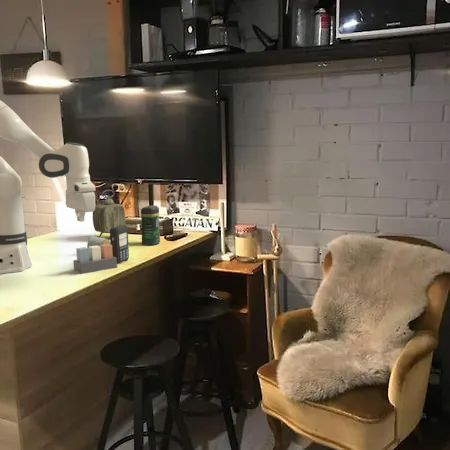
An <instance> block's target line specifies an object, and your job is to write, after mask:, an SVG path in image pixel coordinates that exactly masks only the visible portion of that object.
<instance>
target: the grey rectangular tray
mask: <svg viewBox="0 0 450 450" xmlns="http://www.w3.org/2000/svg"><path fill="white" fill-rule="evenodd" d="M115 268H116V269H117V268H118V264H117V258H116V257H112V258H106V259H104V258H101V259H100V260H94V261H92V260H89V261H88V262H82V263H80V262H77V259H73V270H74V271H75V272H76V273H79V274H82V275H83V274H88V273H94V272H99V271H106V270H111V269H115Z"/></svg>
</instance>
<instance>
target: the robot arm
mask: <svg viewBox="0 0 450 450" xmlns="http://www.w3.org/2000/svg"><path fill="white" fill-rule="evenodd" d="M0 138H1V139H2V140H6V141H10V142H13V143H17V144H19V145H22V146H23V147H25V148H26V149H27V150H29V151H30V152H31V153H32V154H33V155H35V156H36V157H38V158H39V161H38V169H39V171H40V173H41V174H42V175H43V176H44V177H47V178H51V179H55V178H59V177H65V182H66V184H65V185H66V190H65V206H66V208H68V209H73V210H74V212H75V215H76V220H77V222H81V223H82V222H83V223H84V222H85V216H86V213H90V212H91V213H93V211H94V210H95V206H96V194H95V192H96V185H95V184H94V183H93V182H92V181H91V175H90V172H89V169H90V168H89V167H90V159H89V152H88V148H87V147H86V146H85V145H84V144H82V143H77V142H66V143H65V144H64V145H62V146H60V147H59V148H57V149H56V148H54V147H52V146H51V145H50V144H48V143H47V142H46V141H45V140H43V139H42V138H41V137H40V136H39V135H37V134H36V133H35V132H34V131H32V129H31V128H30V127H29V126H28V125H27V124H26V123H25V122H24V121H23V120H22V118H21V117H20V116H19V115H18V114H17V113H16V112H15V111H14V110H13V109H12V108H11V107H9V106H8V105H7V104H6V103H5V102H4V101H2V100H1V99H0ZM22 186H23V181H22V177H21V176H20V175H19V174H18V173H17V172H16V170H14V169H13V167H12V166H11V165H10V164H9V163H8V162H7V161H6V160H5V159H4V158H3V157H2V156H1V155H0V274H1V275H2V274H10V273H16V272H17V273H18V272H22V271H25V270H26V269H28V268H31V267H32V266H33V264H32V262H31V259H30V256H29V251H28V235H27V231H26V228H25V227H26V226H25V217H24V216H25V214H24V207H23V202H22V201H23V199H22Z"/></svg>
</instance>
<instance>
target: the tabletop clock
mask: <svg viewBox="0 0 450 450" xmlns="http://www.w3.org/2000/svg"><path fill="white" fill-rule="evenodd" d="M105 192H112V193H113V194H112V195H111V196H110V195H109V194H107V196H104V194H105ZM101 195H102V197H103V198H104V200H103V203H99V204H95V210H94V211H93V212H92V224H93V228H94V231H95V232H99V233H100V234H99V235H98V236H97V237H100V238H102V237H101V236H102V235H103V234H110V229H111V228H113V227H116V226H119V225H126V211H125V208H124V206H123V204H119V203H115V202H114V200H113V197H114V196H115V191H114V190H112V189H105V190H104V191H102V193H101Z"/></svg>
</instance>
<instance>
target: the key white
mask: <svg viewBox="0 0 450 450" xmlns="http://www.w3.org/2000/svg"><path fill="white" fill-rule="evenodd" d="M100 259H101V247H100V246H97V245H96V246H89V260H92V261H94V260H100Z"/></svg>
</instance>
